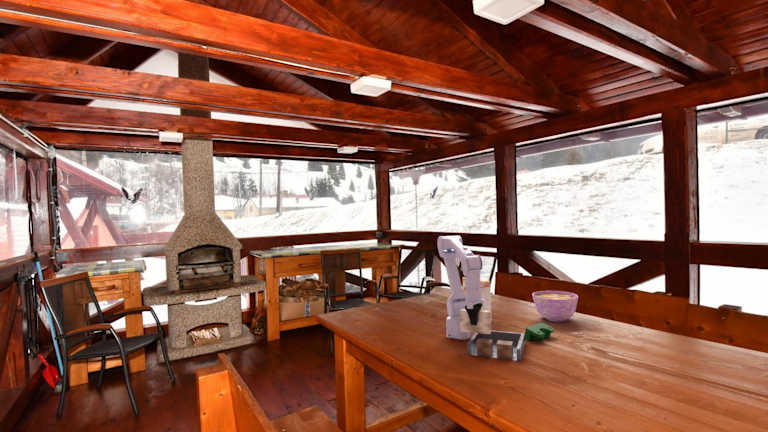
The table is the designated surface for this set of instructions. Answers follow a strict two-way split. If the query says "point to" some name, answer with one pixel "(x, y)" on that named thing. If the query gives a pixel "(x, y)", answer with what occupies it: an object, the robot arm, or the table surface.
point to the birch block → (482, 324)
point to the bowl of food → (555, 304)
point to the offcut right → (504, 349)
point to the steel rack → (514, 337)
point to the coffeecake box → (483, 293)
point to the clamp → (538, 332)
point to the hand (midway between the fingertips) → (474, 323)
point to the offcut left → (485, 346)
